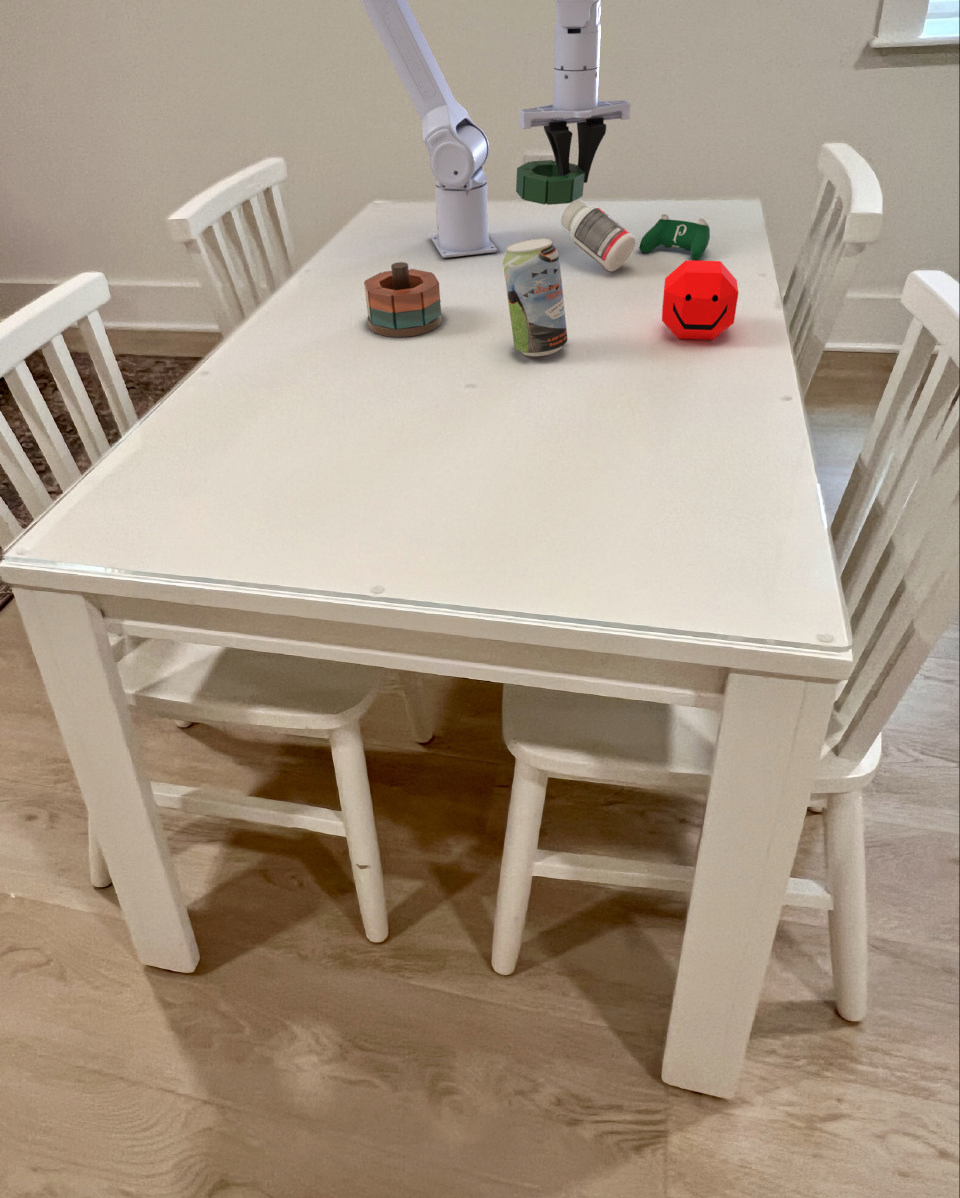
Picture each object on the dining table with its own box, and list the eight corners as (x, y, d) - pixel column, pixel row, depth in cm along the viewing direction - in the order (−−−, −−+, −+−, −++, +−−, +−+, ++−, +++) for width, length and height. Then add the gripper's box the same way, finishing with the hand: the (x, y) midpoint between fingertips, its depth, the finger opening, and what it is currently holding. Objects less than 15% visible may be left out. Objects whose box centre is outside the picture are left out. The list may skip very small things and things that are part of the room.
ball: (659, 345, 101) (666, 278, 96) (660, 318, 107) (667, 253, 102) (732, 348, 100) (742, 280, 95) (729, 320, 106) (738, 255, 101)
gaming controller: (703, 270, 124) (718, 231, 124) (698, 256, 121) (714, 215, 121) (642, 261, 128) (657, 222, 128) (636, 247, 125) (651, 207, 125)
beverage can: (551, 367, 98) (552, 256, 90) (494, 354, 101) (490, 246, 93) (577, 346, 102) (580, 238, 94) (521, 334, 105) (520, 229, 97)
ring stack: (364, 313, 112) (357, 257, 107) (434, 304, 113) (429, 248, 109) (373, 341, 105) (366, 282, 101) (448, 331, 106) (444, 273, 102)
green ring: (510, 185, 124) (511, 162, 122) (569, 181, 125) (571, 158, 123) (527, 206, 117) (529, 182, 115) (589, 202, 119) (591, 178, 117)
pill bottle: (640, 229, 116) (586, 186, 118) (611, 252, 115) (557, 208, 117) (633, 257, 121) (582, 215, 123) (606, 280, 120) (555, 237, 122)
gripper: (530, 77, 108) (530, 195, 117) (642, 67, 110) (633, 184, 119) (514, 68, 113) (515, 181, 122) (621, 59, 116) (615, 171, 124)
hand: (572, 182), depth 121 cm, fingers closed on green ring, 2 cm apart
